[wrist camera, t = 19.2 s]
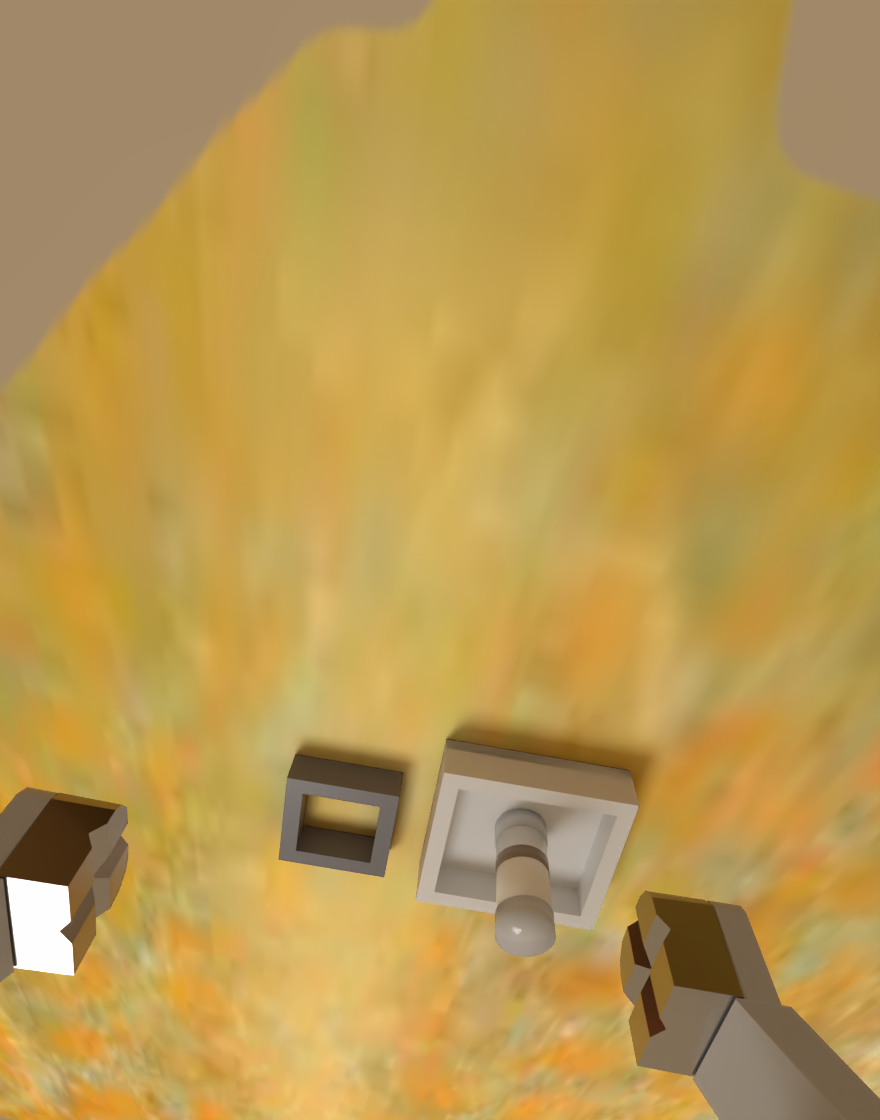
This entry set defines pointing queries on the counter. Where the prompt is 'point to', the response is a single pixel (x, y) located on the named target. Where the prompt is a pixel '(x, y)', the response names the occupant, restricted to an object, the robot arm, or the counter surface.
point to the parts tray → (545, 788)
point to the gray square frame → (345, 786)
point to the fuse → (523, 884)
